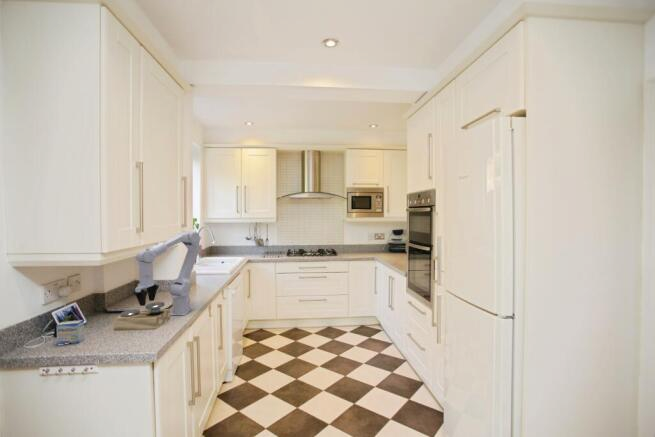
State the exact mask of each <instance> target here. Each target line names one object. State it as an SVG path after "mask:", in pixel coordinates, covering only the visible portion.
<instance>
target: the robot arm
mask: <svg viewBox="0 0 655 437" xmlns="http://www.w3.org/2000/svg"><path fill="white" fill-rule="evenodd" d="M200 241H201V236H200V234H199V232H197V231H185V230H184V231H182V232H179V233H177V234H176V235H174V236H173V237H171V238H169V239H168V240H165V241H164V242H161V241H160V242H158V241H157V242H155V243H154V245H152V246H150V247H146V249H143V250H140V251H138V252H137V254H136V256H135V260H136V261H137V262H138V274H139V276H138V277H139V278H138V279H139V283H138V284H137V285H136V287H135V289H134V291H133V295H134V296H135V297H136V299H137V301H138V304H139V306H140V307H141V306H142V307H143V306H144V307H146V305H147V304H146V302H147V295H148V301H150V302H152V301H153V302H154V301H155V300H156V299H155V298H156V295H157V291H158V290H159V286H160V285H159V284H158V280H154V269H153V268H154V267H153V266H154V265H153V262H154V261H155V259H156V258H157V257H159V256H161V255H163V254H165V253H166V252H167V250H168V249H169V248H171V247H174V246H175V245H177V244H180V243H182V244H183V245H184V246H185V247H186V249H187V252H186V254H185V257H184V260H183V263H182V265H181V269H180V270H179V274H178V276H177V278H175V279H174V280H173V282H172V284H171V285H170V286H169V290H168V291H169V294H170V295H171V297H172V312H171V313H170V316H185V315H187V314H188V313H189V312H191V311H192V310H193V308H191V298H190V296H189V295H190V292H191V284H192V283H191V281H190V277H191V274H192V272H193V268H194V266H195V263H196V261H197V256H198V253H199V250H200Z"/></svg>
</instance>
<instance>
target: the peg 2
mask: <svg viewBox="0 0 655 437" xmlns="http://www.w3.org/2000/svg"><path fill="white" fill-rule="evenodd" d="M163 307H165V302H163V301H156V302H150V303H148V304H145V310H151V315H159V314H160V309H161V308H163Z"/></svg>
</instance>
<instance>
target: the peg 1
mask: <svg viewBox="0 0 655 437" xmlns="http://www.w3.org/2000/svg"><path fill="white" fill-rule="evenodd" d="M140 310H141V309H137V308H136V309H129V310H124V311H122V312H120V315H119V316H121V317H131V316H135V315H138V314H140Z"/></svg>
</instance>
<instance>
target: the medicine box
mask: <svg viewBox="0 0 655 437" xmlns="http://www.w3.org/2000/svg"><path fill="white" fill-rule="evenodd" d="M84 323H85V320H84V319H78V320H69V321H61V322H60V323H57V325H56V345H57V344H65V343H77V344H80V343H81V342H82V340H85V324H84ZM79 342H80V343H79Z"/></svg>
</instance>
